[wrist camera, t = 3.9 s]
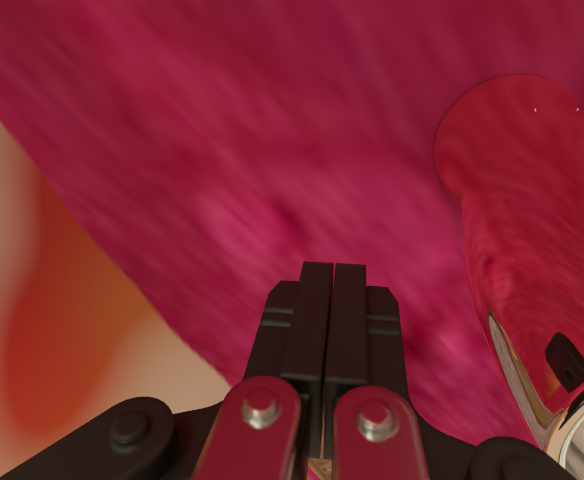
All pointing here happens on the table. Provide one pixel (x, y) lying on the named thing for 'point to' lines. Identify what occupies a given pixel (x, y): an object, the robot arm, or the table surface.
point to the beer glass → (525, 245)
